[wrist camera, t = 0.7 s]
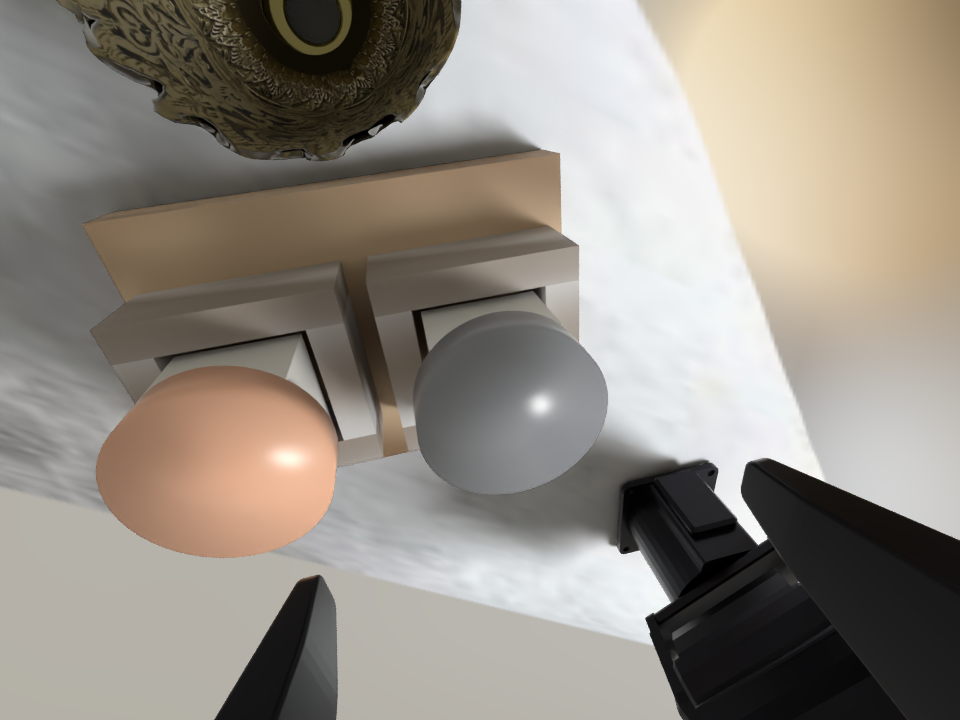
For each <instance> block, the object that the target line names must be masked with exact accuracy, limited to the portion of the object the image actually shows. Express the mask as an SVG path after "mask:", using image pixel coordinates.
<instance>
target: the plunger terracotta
mask: <svg viewBox="0 0 960 720" xmlns="http://www.w3.org/2000/svg"><path fill="white" fill-rule="evenodd" d="M338 448H339V447H338V437H337V434H336V430H335V427H334V425H333V422H332V419H331V416H330V413H329V411H328V408H327V405H326V402H325V399H324V396H323V394H322V391H321V388H320V385H319V382H318V379H317V377H316V374H315V371H314V368H313V365H312V362H311V359H310V357H309V354H308V351H307V348H306V345H305V342H304V340H303V337H302V334H296V335H291V336H285V337H280V338H274V339H269V340H263V341H258V342H253V343H247V344H242V345H236V346H231V347H225V348H220V349H214V350H209V351H204V352H198V353H193V354H187V355H182V356H176V357H174V358H173V359H172V360H171V361H170V363H169V364H168V365H167V366H166V367H165V369H164V370H163V371H162V372H161V373H160V375H159V376H158V377H157V378H156V379H155V381H154V382H153V383H152V384H151V385H150V387H149V388H148V389H147V390H146V392H145V393H144V394H143V395H142V396H141V398H140V399H139V400H138V401H137V402H136V404H135V405H134V406H133V407H132V409H131V410H130V411H129V412H128V413H127V415H126V416H125V417H124V418H123V419H122V421H121V422H120V423H119V424H118V425H117V427H116V428H115V429H114V430H113V431H112V433H111V434H110V435H109V437H108V438H107V440H106V441H105V443H104V444H103V446H102V448H101V451H100V453H99V455H98V460H97V465H96V480H97V484H98V488H99V491H100V494H101V496H102V498H103V500H104V502H105V504H106V505H107V507H108V508H109V510H110V511H111V512H112V513H113V514H114V516H115V517H116V518H117V519H118V520H119V521H120V522H121V523H123V524H124V525H125V526H126V527H127V528H128V529H130V530H131V531H133V532H134V533H136V534H137V535H139V536H140V537H142V538H144V539H146V540H148V541H150V542H152V543H154V544H157V545H159V546H162V547H164V548H167V549H170V550H174V551H177V552H180V553H185V554H189V555H195V556H203V557H215V558H231V557H232V558H233V557H244V556H251V555H256V554H261V553H265V552H268V551H272V550H275V549H278V548H280V547H283V546H285V545H287V544H289V543H291V542H293V541H295V540H297V539H298V538H300V537H301V536H303V535H305V534H306V533H307V532H308V531H310V530H311V529H312V528H313V527H314V526H315V525H316V524H317V523H318V522H319V521H320V520H321V519H322V517H323V516H324V514H325V513H326V511H327V509H328V507H329V505H330V503H331V500H332V496H333V493H334V485H335V476H336V468H337V459H338Z"/></svg>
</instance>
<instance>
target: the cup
mask: <svg viewBox="0 0 960 720" xmlns="http://www.w3.org/2000/svg"><path fill="white" fill-rule="evenodd" d="M56 1H57V2H58V3H59V4H60V5H62V6H63V7H65V8H67V9H68V10H69V11H71V12H72V13H74V14H75V16H76V18H77V20H78V22H79V23H82V24H84V28H83V33H84V35H85V38H86V44H87V47H88V48H89V49H90V51H91V52H92V53H93V54H94V55H95V56H96V57H97V58H98V59H99V60H100V61H102V62H103V63H104V64H106V65H107V66H108V67H110V68H111V69H113V70H114V71H116V72H118V73H120V74H121V75H123V76H125V77H127V78H129V79H131V80H133V81H135V82H137V83H140V84H143V85H146V86H148V87H151V88H153V89H154V90H156V91H157V92H158V98H156V99H153V100H152V101H153V103H154V111H155V112H157V113H158V114H160V115H161V116H163V117H164V118H166V119H168V120H170V121H173V122H175V123H181V124H190V125H196V126H199V127H202V128H203V129H205V130H206V131H208V132H209V133H211V134H212V135H213V136H214V137H215V138H216V139H217V141H218V142H219V143H220V144H222V145H223V146H225V147H226V148H228V149H230V150H231V151H233V152H235V153H237V154H239V155H241V156H244V157H247V158H251V159H262V160H283V159H292V158H306V159H307V160H309V161H328V160H333V159H336V158H339V157H341V156H343V155H344V154H345V150H346V149H348V148H349V147H350V146H352V145H354V144H356V143H359V142H361V141H363V140H366V139H369V138H372V137H374V136H375V135H376V134H377V133H379V132H380V131H381V130H382V129H384V128H386V127H387V126H388V125H390V124H391V123H393V122H396V121H399V122H400V123H402V122H403V121H404V120H405V119H406V118H408V117H409V116H410V115H411V114H412V113H413V111H414V110H415V109H416V108H417V107H418V106H419V104H420V103H421V101H422V99H423V97H424V95H425V92H426V89H427V87H428V86H429V85H430V83H431V82H432V81H433V80H434V78H435V77H436V76H437V75H438V74H439V72H440V71H441V69H442V68H443V66H444V65H445V63H446V61H447V59H448V57H449V55H450V53H451V52H452V49H453V47H454V44H455V42H456V39H457V36H458V32H459V27H460V19H461V0H336V3H337V5H338V9H339V14H340V21H339V27H338V30H337V32H336V34H335V35H334V36H333V38H331V39H330V40H329V41H327V42H324V43H312V42H309V41H307V40H305V39H303V38H302V37H301V36H300V35H298V34H297V32H296V31H295V30H294V29H293V27H292V26H291V24H290V22H289V19H288V16H287V12H286V0H56Z"/></svg>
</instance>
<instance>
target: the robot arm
mask: <svg viewBox="0 0 960 720" xmlns="http://www.w3.org/2000/svg"><path fill="white" fill-rule="evenodd" d="M717 475H718V468H717V467H716V466H715V465H714V464H713V463H707V464H703V465H698V466H694V467H690V468H686V469H682V470H678V471H674V472H669V473H665V474H661V475H657V476H653V477H649V478H645V479H641V480H636V481H632V482H628V483H626V484H624V485H623V486H622V487H621V492H620V507H619V523H618V538H617V548H618V550H619V552H620V553H621V554H627V553H631V552H635V551H638V550H640V551H641V553H642V555H643V556H644V558H645V560H646V561H647V563H648V565H649V566H650V568H651V570H652V571H653V573H654V575H655V576H656V578H657V580H658V581H659V583H660V585H661V586H662V588H663V590H664V591H665V593H666V595H667V596H668V598H669V600H670V601H671V603H670V604H669V605H667V606H666V607H664V608H663V609H661V610H660V611H658V612H657V613H655V614H654V613H652V614H650V615H649V616H647V617H646V618H645V619H646V622H647V624H648V627H649V629H650V636H651V639H652V641H653V644H654V646H655V649H656V651H657V654H658V656H659V658H660V661H661V664H662V666H663V669H664V671H665V674H666V677H667V679H668V682H669V684H670V686H671V689H672V692H673V694H674V697H675V701H676V705H677V709H678V712H679V714H680V716H681V717H682V719H683V720H960V540H958V539H955V538H953V537H951V536H948V535H946V534H943V533H941V532H939V531H937V530H934V529H932V528H930V527H927V526H925V525H923V524H921V523H918V522H916V521H913V520H911V519H909V518H906V517H904V516H902V515H900V514H897V513H895V512H893V511H890V510H888V509H885V508H883V507H881V506H879V505H876V504H874V503H872V502H870V501H867V500H865V499H862V498H860V497H858V496H856V495H853V494H851V493H849V492H846V491H844V490H842V489H839V488H837V487H835V486H832V485H830V484H828V483H825V482H823V481H821V480H819V479H816V478H814V477H812V476H809V475H807V474H805V473H802V472H800V471H798V470H795V469H793V468H791V467H788V466H786V465H784V464H781V463H779V462H777V461H774V460H772V459H769V458H761V459H758V460H754V461H750V462H748V463H747V464H746V467H745V471H744V476H743V480H742V485H741V494H742V497H743V499H744V501H745V503H746V504H747V506H748V507H749V509H750V510H751V512H752V513H753V515H754V517H755V518H756V520H757V521H758V523H759V524H760V526H761V527H762V529H763V530H764V532H765V533H766V535H767V538H768V539H767V540H765V541H764V542H762V543H761V544H759V545H758V544H757V543H756V542H755V541H754V540H753V539H752V537H751V536H750V535H749V534H748V533H747V532H746V531H745V529H744V528H743V527H742V526H741V525H740V524H739V523H738V522H737V518H736V516H735V515H734V514H733V513H732V512H731V511H730V510H729V509H728V507H727V506H726V505H725V504H724V503H723V502H722V501H721V500H720V498H719V497H718V496H717V495H716V494H715V493H714V489H715V484H716V480H717ZM798 582H800V583H798ZM336 629H337V628H336V605H335V601H334V598H333V596H332V594H331V592H330V590H329V588H328V587H327V584H326V582H325V580H324V578H323V577H322V576H320V575H315V576H311V577H307V578H303V579H301V580H299V581H298V582H297V583H296V585H295V587H294V588H293V590H292V591H291V593H290V595H289V597H288V598H287V600H286V601H285V603H284V605H283V606H282V608H281V610H280V611H279V613H278V615H277V616H276V618H275V620H274V621H273V623H272V625H271V626H270V628H269V630H268V631H267V633H266V635H265V636H264V638H263V640H262V641H261V643H260V645H259V646H258V648H257V650H256V652H255V653H254V655H253V656H252V658H251V660H250V661H249V663H248V665H247V666H246V668H245V670H244V671H243V673H242V675H241V676H240V678H239V680H238V681H237V683H236V685H235V686H234V688H233V690H232V691H231V693H230V694H229V696H228V698H227V700H226V701H225V703H224V704H223V706H222V708H221V710H220V711H219V713H218V714H217V716H216V718H215V719H214V720H336V714H337V697H338V693H337V692H338V691H337V690H338V686H337V685H338V678H337V630H336Z"/></svg>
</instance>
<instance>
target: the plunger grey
mask: <svg viewBox="0 0 960 720" xmlns="http://www.w3.org/2000/svg"><path fill="white" fill-rule="evenodd" d="M421 315H422V321H423V326H424V331H425V336H426V341H427V346H428V351H429V353H428V355H427V356H426V358H425V359H424V361H423V363H422V365H421V367H420V369H419V371H418V373H417V377H416V380H415V384H414V390H413V407H414V415H415V423H416V431H417V438H418V444H419V447H420V450H421V453H422V455H423V457H424V459H425V461H426V462H427V464H428V465H429V466H430V468H431V469H432V470H433V471H434V472H435V473H436V474H437V475H438V476H439V477H440V478H442V479H443V480H445V481H446V482H448V483H449V484H451V485H453V486H455V487H457V488H460V489H463V490H465V491H469V492H473V493H478V494H487V495H503V494H512V493H517V492H522V491H526V490H529V489H533V488H535V487H538V486H541V485H543V484H545V483H547V482H549V481H551V480H553V479H555V478H557V477H558V476H560V475H562V474H563V473H565V472H566V471H567V470H569V469H570V468H571V467H572V466H574V465H575V464H576V463H577V462H578V461H579V460H580V459H581V458H582V457H583V456H584V455H585V454H586V453H587V451H588V450H589V449H590V448H591V446H592V445H593V443H594V442H595V440H596V438H597V437H598V435H599V433H600V431H601V429H602V426H603V424H604V421H605V417H606V413H607V406H608V391H607V386H606V382H605V379H604V376H603V374H602V372H601V370H600V368H599V366H598V365H597V363H596V362H595V361H594V360H593V358H592V357H591V356H590V355H589V354H588V353H587V351H586V350H585V349H584V348H583V347H582V346H581V345H580V343H579V342H578V341H577V340H576V339H575V338H574V337H573V335H572V334H571V333H570V332H569V331H568V330H567V329H565V328H564V327H563V326H562V324H561V322H560V321H559V320H558V319H557V318H556V317H555V316H554V314H553V313H552V312H551V311H550V310H549V309H548V308H547V306H546V305H545V304H544V303H543V302H542V301H541V299H540V298H539V297H538V296H537V295H536V294H535V293H534V291H530V292H525V293H519V294H514V295H508V296H503V297H497V298H492V299H487V300H481V301H476V302H470V303H465V304H459V305H454V306H449V307H443V308H438V309H432V310H427V311H421Z"/></svg>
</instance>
